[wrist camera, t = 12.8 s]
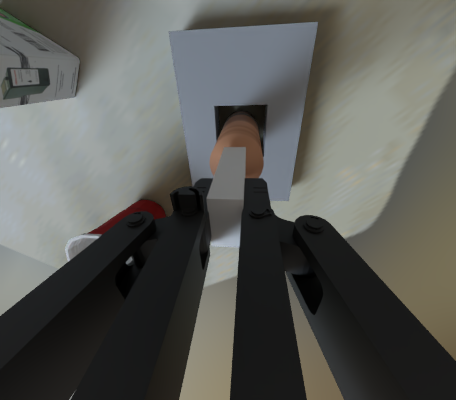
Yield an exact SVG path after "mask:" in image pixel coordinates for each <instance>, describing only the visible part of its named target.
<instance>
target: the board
mask: <svg viewBox="0 0 456 400" xmlns="http://www.w3.org/2000/svg"><path fill="white" fill-rule="evenodd" d="M317 26H318V22H307V23H291V24H276V25H260V26H245V27H229V28H214V29H198V30H183V31H169V37H170V43H171V50H172V56H173V63H174V69H175V76H176V82H177V89H178V95H179V102H180V108H181V115H182V121H183V128H184V134H185V141H186V147H187V154H188V160H189V167H190V174H191V180H192V187H193V186H194V184H195V182H197V181H198V180H199V179H201V178H214V176H213V174H212V172H211V169H210V156H211V153H212V151H213V149H214V146H215V144H216V142H217V140H218V138H219V136H220V129H219V112H218V106H233V105H265V120H264V135H263V149H262V154H263V160H264V166H263V170H262V173H261V175H260V177H259V178H263V179H264V180H265V181H266V182H267V187H268V193H269V199H270V200H271V201H289V196H290V190H291V184H292V178H293V172H294V166H295V160H296V154H297V148H298V142H299V136H300V129H301V123H302V117H303V111H304V105H305V99H306V93H307V87H308V81H309V75H310V68H311V62H312V56H313V50H314V44H315V38H316V32H317Z"/></svg>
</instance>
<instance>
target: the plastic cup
mask: <svg viewBox="0 0 456 400" xmlns="http://www.w3.org/2000/svg"><path fill="white" fill-rule="evenodd" d="M140 211H147V212H149V213H151V214H152V215H153V217H154V219H159V218H165V217H166V215H165V212H164V210H163V208H162V207H161V206H160V205H158V204H157V203H156V202H153V201H150V200H140V201H138V202H136V203H134V204H132V205H131V206H130V207H128V208H127V209H125V210H123V211H122V212H120V213H119V214H117V215H116V216H114V217H113V218H111V219H110V220H108V221H107V222H106V223H104V224H103V225H101V226H100V227H98V228H97V229H94V230H93V231H91V232H89V233H84V234H82V235H79V236H77V237H74V238H72V239H70V240H69V241H68V243H67V245H66V247H65V251H66V256H67V260H68V261H70V260H71V259H72V258H74V257H75V256H76V255H77V254H79V253H80V252H81V251H82V250H84V249H85V248H86V247H87V246H89V245H90V244H91V243H93V242H94V241H95V240H96V239H98V238H99V237H100V236H101V235H103V234H104V233H105V232H106V231H108V230H109V229H110V228H111V227H113V226H114V225H115V224H116V223H118V222H119V221H120V220H121V219H123V218H124V217H126V216H127V215H129V214H132V213H134V212H140ZM132 260H133V259H132V257H130V258H129V259H128V260H127V262H126V264H129V263H130V262H131V261H132Z"/></svg>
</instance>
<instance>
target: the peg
mask: <svg viewBox="0 0 456 400" xmlns="http://www.w3.org/2000/svg"><path fill="white" fill-rule="evenodd" d="M224 147H246V174H245V178H259V177H260V175H261V173H262V170H263V166H264V160H263V154H262V148H261V142H260V136H259V128H258V124H257V121H256V119H255V118H254V116H253V115H252V114H250V113H248V112H246V111H238V112H235V113H233V114H231V115H230V116H229V117H228V119H227V121H226V122H225V124H224V126H223V129H222V131H221V134H220V136H219V138H218V140H217V142H216V144H215V146H214V149H213V151H212V153H211V156H210V169H211V172H212V174H213V176H214V175H215V172H216V169H217V166H218V163H219V161H220V158H221V155H222V152H223V149H224Z"/></svg>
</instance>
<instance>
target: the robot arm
mask: <svg viewBox="0 0 456 400" xmlns="http://www.w3.org/2000/svg"><path fill="white" fill-rule="evenodd" d="M245 174H246V147H224V149H223V152H222V155H221V158H220V161H219V163H218V166H217V169H216V172H215V175H214V178H201V179H199V180H198V181H197V182H195V184H194V186H193V187H191V186H189V187H182V188H178V189H176V190H174V191H173V192H172V193H171V194H170V197H171V201H172V206H173V210H174V211H173V213H172V215H171V216H169V217H165V218H159V219H154V217H153V215H152V214H151V213H149V212H147V211H140V212H134V213H132V214H129V215H127V216H126V217H124V218H123V219H121V220H120V221H119V222H118V223H116V224H115V225H114V226H113V227H111V228H110V229H109V230H108V231H106V232H105V233H104V234H103V235H101V236H100V237H99V238H98V239H96V240H95V241H94V242H93V243H91V244H90V245H89V246H87V247H86V248H85V249H84V250H82V251H81V252H80V253H79V254H77V255H76V256H75V257H74V258H72V259H71V260H70V261H69V262H67V263H66V264H65V265H64V266H62V267H61V268H60V269H59V270H57V271H56V272H55V273H54V274H52V275H51V276H50V277H49V278H48V279H46V280H45V281H44V282H42V283H41V284H40V285H39V286H37V287H36V288H35V289H34V290H32V291H31V292H30V293H29V294H27V295H26V296H25V297H24V298H22V299H21V300H20V301H19V302H17V303H16V304H15V305H14V306H12V307H11V308H10V309H9V310H7V311H6V312H5V313H4V314H2V315H1V316H0V400H69V399H70V397H71V396H72V394H73V393H74V392H75V393H74V395H73V396H72V399H71V400H179V397H180V392H181V387H182V383H183V379H184V374H185V369H186V365H187V360H188V355H189V350H190V346H191V341H192V337H193V332H194V327H195V323H196V317H197V313H198V308H199V303H200V299H201V295H202V290H203V285H204V281H205V276H206V271H207V267H208V262H209V257H210V248H209V245H210V241H211V244H212V246H221V247H239V262H238V278H237V294H236V311H235V327H234V343H233V358H232V359H233V360H232V374H231V375H232V376H231V391H230V400H307V398H306V393H305V386H304V381H303V375H302V369H301V363H300V358H299V352H298V346H297V341H296V334H295V329H294V323H293V317H292V311H291V306H290V300H289V294H288V288H287V282H286V277H285V271H286V274H287V276H288V279H289V281H290V283H291V285H292V287H293V290H294V292H295V294H296V296H297V298H298V300H299V303H300V305H301V307H302V309H303V311H304V313H305V316H306V318H307V320H308V322H309V324H310V326H311V329H312V331H313V333H314V335H315V337H316V339H317V341H318V344H319V346H320V348H321V350H322V352H323V355H324V357H325V359H326V361H327V363H328V365H329V368H330V370H331V372H332V374H333V376H334V378H335V381H336V383H337V385H338V387H339V389H340V391H341V394H342V396H343V398H344V400H456V361H455V360H454V359H453V358H452V357H451V355H450V354H449V353H448V352H447V351H446V350H445V349H444V348H443V347H442V346H441V345H440V343H438V341H437V340H436V339H435V338H434V337H433V336H432V335H431V334H430V333H429V331H428V330H426V328H425V327H424V326H423V325H422V324H421V323H420V321H419V320H418V319H417V318H416V317H415V316H414V315H413V314H412V313H411V312H410V311H409V309H408V308H407V307H406V306H405V305H404V304H403V303H402V302H401V301H400V300H399V299H398V297H397V296H396V295H395V294H394V293H393V292H392V291H391V290H390V289H389V288H388V287H387V285H386V284H385V283H384V282H383V281H382V280H381V279H380V278H379V277H378V275H377V274H376V273H375V272H374V271H373V270H372V269H371V268H370V267H369V266H368V265H367V263H366V262H365V261H364V260H363V259H362V258H361V257H360V256H359V255H358V254H357V253H356V251H355V250H354V249H353V248H352V247H351V246H350V245H349V244H348V243H347V242H346V241H345V239H344V238H343V237H342V236H341V235H340V234H339V233H338V232H337V231H336V229H335V228H334V227H333V226H332V225H331V224H330V223H329V222H327V221H326V220H324V219H322V218H320V217H317V216H313V215H304V216H300V217H298V218H297V219H296V220H295V222H291V221H287V220H284V219H281V218H279V217H277V216H276V215H275V213H274V211H273V210H272V209H271V206H270V199H269V193H268V187H267V182H266V181H265V180H264V179H263V178H245ZM130 257H132V259H133V260H132V261H131V262H130V263H129V264H126V262H127V260H128V259H129V258H130ZM75 390H76V391H75Z"/></svg>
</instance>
